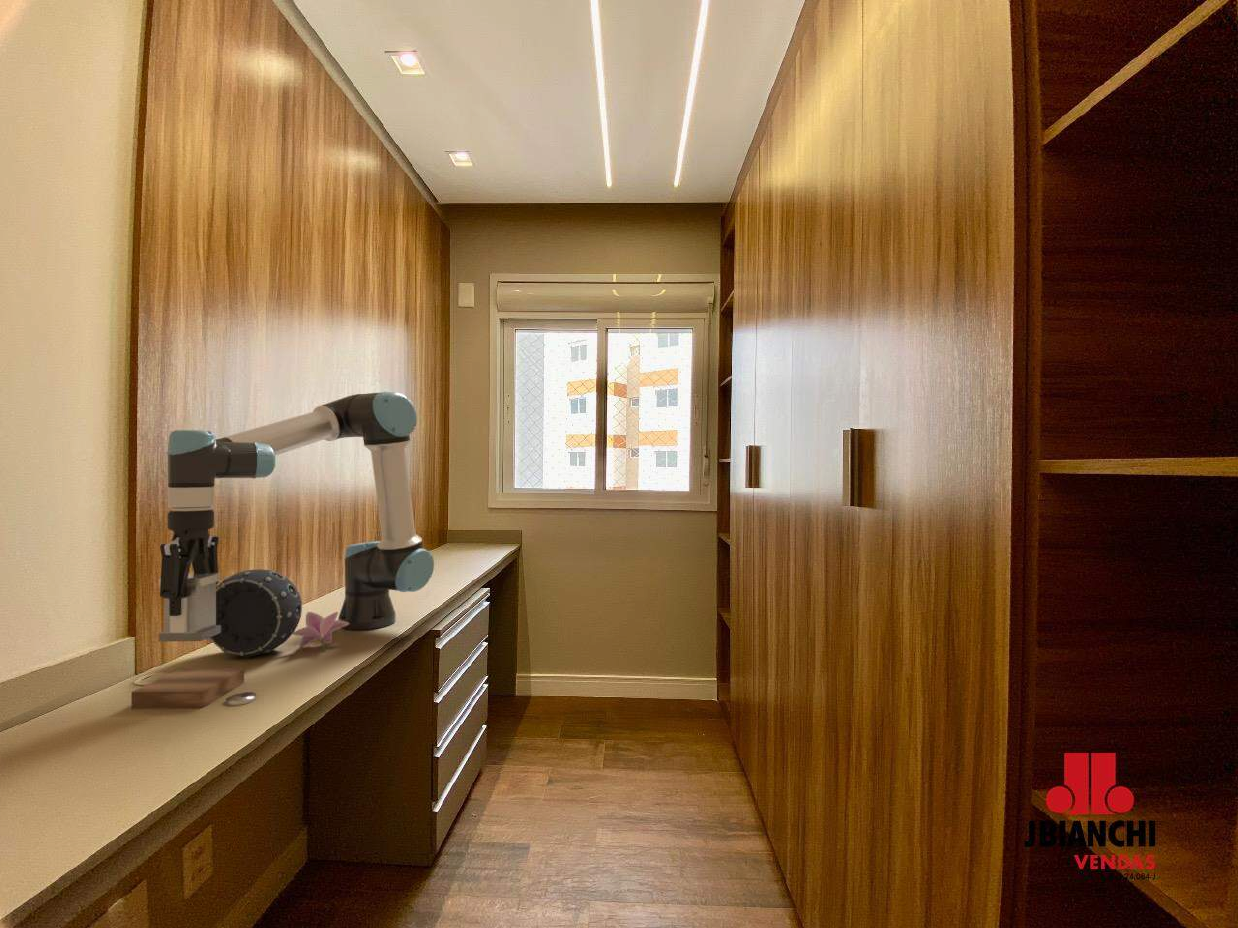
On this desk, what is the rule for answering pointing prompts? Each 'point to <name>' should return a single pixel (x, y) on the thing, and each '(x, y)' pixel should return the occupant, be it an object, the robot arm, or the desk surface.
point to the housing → (196, 609)
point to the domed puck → (241, 698)
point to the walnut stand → (188, 688)
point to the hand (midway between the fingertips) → (190, 627)
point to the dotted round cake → (255, 612)
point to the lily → (319, 628)
